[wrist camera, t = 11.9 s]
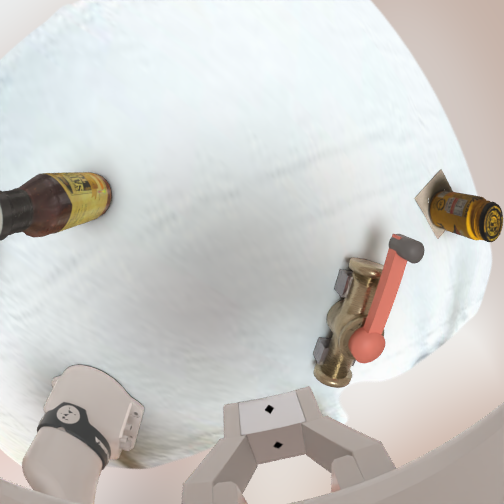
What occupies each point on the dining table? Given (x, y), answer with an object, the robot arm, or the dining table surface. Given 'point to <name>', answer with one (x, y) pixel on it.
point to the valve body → (346, 321)
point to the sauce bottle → (53, 203)
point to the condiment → (459, 211)
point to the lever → (384, 298)
